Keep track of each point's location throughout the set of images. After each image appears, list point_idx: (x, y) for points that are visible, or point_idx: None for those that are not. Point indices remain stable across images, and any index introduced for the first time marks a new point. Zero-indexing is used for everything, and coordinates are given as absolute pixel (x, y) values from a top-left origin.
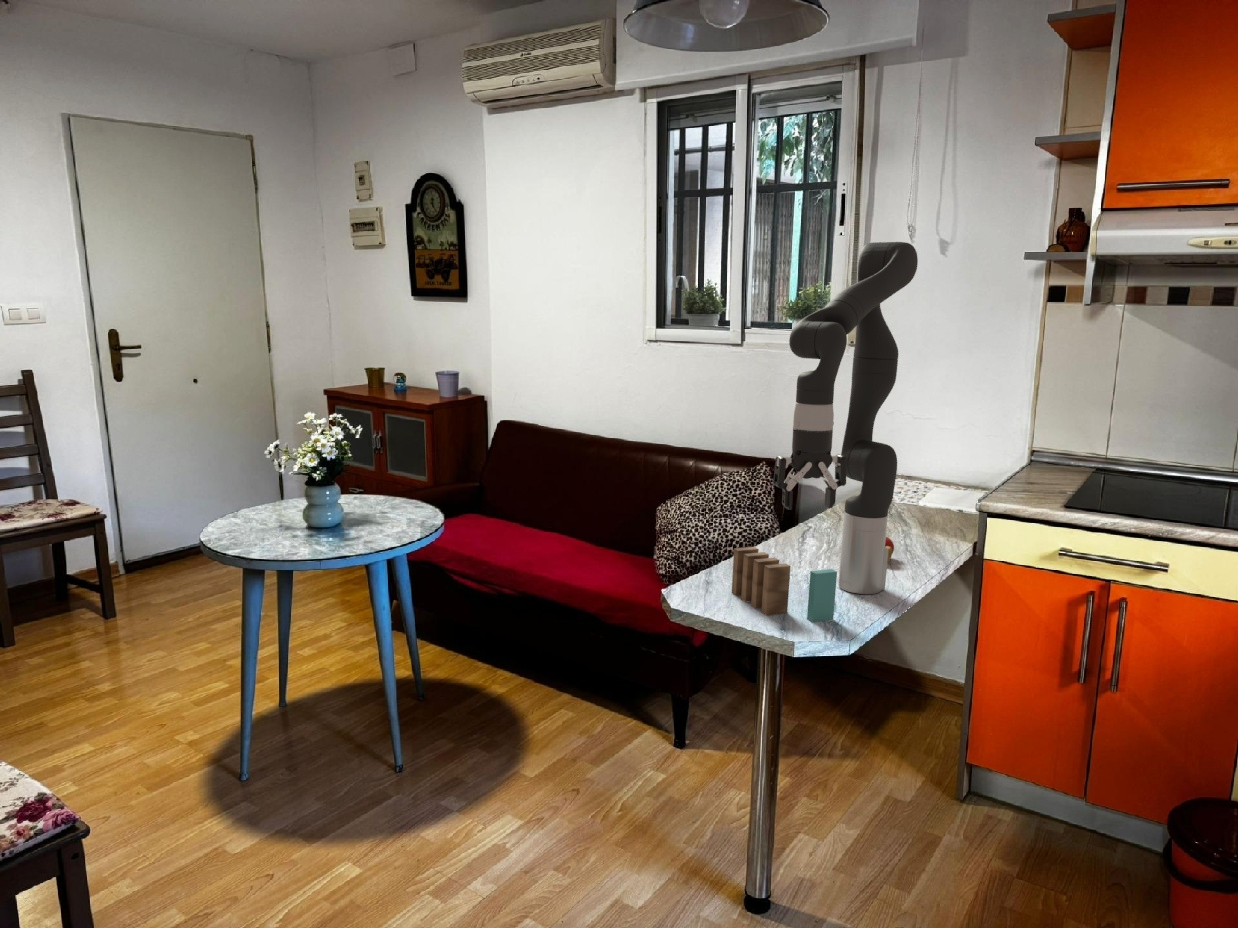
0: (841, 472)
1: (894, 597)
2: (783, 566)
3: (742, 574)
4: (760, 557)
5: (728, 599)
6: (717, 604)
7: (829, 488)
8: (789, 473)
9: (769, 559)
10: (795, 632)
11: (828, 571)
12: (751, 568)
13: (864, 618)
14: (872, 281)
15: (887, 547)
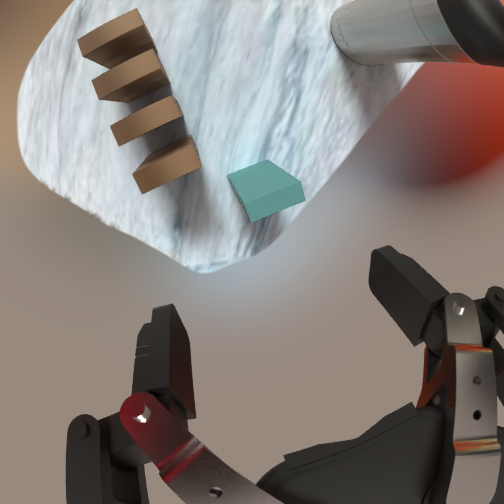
0: (497, 386)
1: (394, 82)
2: (181, 174)
3: (116, 58)
4: (136, 80)
5: None
6: (78, 129)
7: (425, 332)
8: (180, 494)
9: (152, 116)
10: (196, 236)
11: (286, 200)
12: (119, 95)
13: (323, 166)
14: None
15: None
